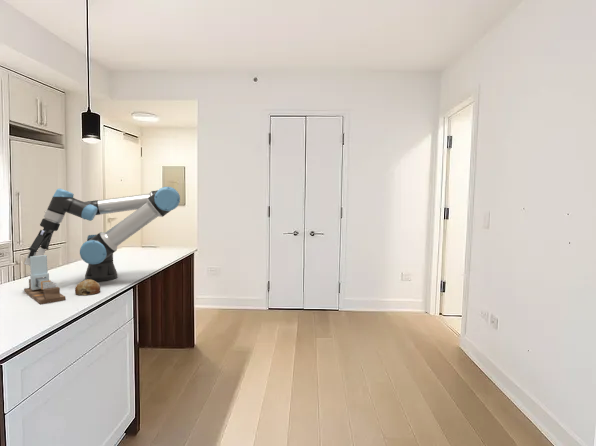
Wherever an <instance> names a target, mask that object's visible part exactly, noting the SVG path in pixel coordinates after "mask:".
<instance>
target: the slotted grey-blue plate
mask: <svg viewBox="0 0 596 446" xmlns="http://www.w3.org/2000/svg"><path fill="white" fill-rule="evenodd" d="M29 267H30V268H29V269H30V274H29V275H30V278H29V279H30V280H31V289H32V290H37V289H41V288H40V287H38V286H37V285H36V283H35V278H39V277H44V278H46V279H47V280H50V274H49V272H48V255H47V254H44V255H41V256H31V257H30V266H29Z"/></svg>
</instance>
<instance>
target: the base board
mask: <svg viewBox="0 0 596 446" xmlns="http://www.w3.org/2000/svg"><path fill="white" fill-rule="evenodd" d="M60 291H61V289H60V287H59V286H56V288H51V289H47V288H46V289H44V290H42V289H37V290H32V289H31V280H30V278H28V288H24V289H23V292H24V293H25V294H26V295H28V296H29V297H30V298H31V299H33V300H34V301H35V302H37V304H39V305H45V304H51V303H52V304H53V303H56V302H63V301H66V296H65V295H64V294H62V293H61V292H60Z"/></svg>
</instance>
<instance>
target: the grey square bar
mask: <svg viewBox="0 0 596 446" xmlns="http://www.w3.org/2000/svg"><path fill="white" fill-rule="evenodd" d="M35 283H36V285H37V286H38V287H40V288H41V289H42V290H44V289H46V288H47V289H51V288H56V287H57V286H56V285H57V284H56V283H54V282H52V281H51V280H50V279H49V280H47V279H46V278H44V277H39V278H35Z"/></svg>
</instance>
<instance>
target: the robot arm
mask: <svg viewBox="0 0 596 446" xmlns="http://www.w3.org/2000/svg"><path fill="white" fill-rule="evenodd" d="M74 196H75V195H74V193H73V192H71V191H68V190H66V189H63V188H57V189H55V192H54V194H53V195H52V197H51V200H50V202H49V204H48V207H47V208H46V210H45V211H44V215H43V218H42V219H41V221H40V223H39V226H40V227H42V228H43V229H40V230H39V232H38V234H37V235H36V237H35V238H34V240H33V242H32V244H31V245H30V247H28V248H27V249H28V253H27V256H26V258H25V261H24V262H23V264H24V265H26V266H29V267H30V257H31V256H41V255H45V253H46V250H47V251H49V249H50V248H49V247H50V244H51V240H52V237H53V234H54V232H56V231H58V230H59V228H60V225H61V223H62V222H63V219H64V217H65V215H66V213H68V214H70V215H73V216H76V217H79V218H80V219H83V220H87V221H88V222H89V221H93V220H94V219H95V217H96V216H100V215H106V214H108V215H109V214H113V213H114V214H115V213H122V212H128V211H129V212H130V211H133V212H132V213H131V214H129V215H128V216H126V217H125V218H123V219H122V220H120V221H119V222H118V223H116V224H115V225H114V226H113V227H111V228H110V229H109V230H107V231H105V232H102V231H100V232H99V233H97V234H89V235H87V237H86V238H87V239H86V241H85V242H83V244H82V245H81V246H80V249H79V256H80V258H81V260H82V261H83V262H85V263H86V264H88V265H87V268H86V271H85V274H84V280H87V279H91V280H94V281H96V282H105V281H107V282H108V281H111V280H115V279H117V278H118V271H117V269H116V267H115V264H114V253H115V252H116V251H117V250H118V247H119V245H121V244H122V243H124V242H125V241H126V240H128V239H129V238H130V237H132V236H133V235H135V234H136V233H138V232H139V231H140V230H142V229H143V228H144V227H145V226H147V225H148V224H149V223H151V222H153V220H155V219H156V218H158V217H160V218H163V217H164V216H166V215H167V214H168V213H170V212H171V211H173V210H175V209H177V208H178V206H179V205H180V202H181V196H180V193H179V191H177V190H176V188H174V187H172V186H162V187H161V188H159V189H157V190H151V191H150V192H149V193H141V194H135V195H127V196H121V197H120V196H119V197H112V198H111V197H110V198H104V199H98V200H88V201H82V200H80V199H77V198H75V197H74Z"/></svg>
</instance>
